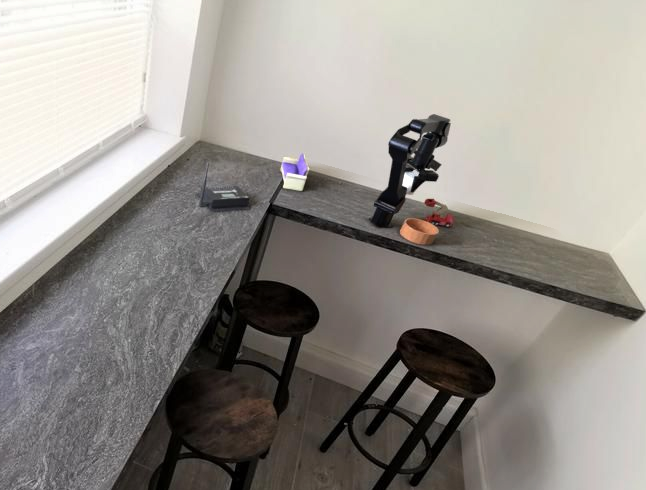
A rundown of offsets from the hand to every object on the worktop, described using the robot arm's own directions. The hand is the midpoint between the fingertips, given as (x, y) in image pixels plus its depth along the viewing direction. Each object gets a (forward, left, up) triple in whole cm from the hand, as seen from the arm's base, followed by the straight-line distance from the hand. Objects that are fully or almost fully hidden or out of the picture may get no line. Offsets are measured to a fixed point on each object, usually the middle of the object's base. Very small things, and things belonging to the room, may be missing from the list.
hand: (407, 188), depth 193 cm
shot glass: (0, 0, -2) cm, 2 cm away
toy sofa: (-33, +32, -12) cm, 47 cm away
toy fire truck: (+14, -6, -12) cm, 20 cm away
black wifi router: (-74, +11, -12) cm, 75 cm away
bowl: (-2, -16, -12) cm, 20 cm away
